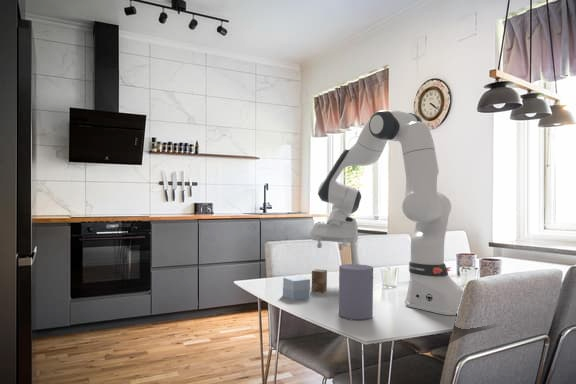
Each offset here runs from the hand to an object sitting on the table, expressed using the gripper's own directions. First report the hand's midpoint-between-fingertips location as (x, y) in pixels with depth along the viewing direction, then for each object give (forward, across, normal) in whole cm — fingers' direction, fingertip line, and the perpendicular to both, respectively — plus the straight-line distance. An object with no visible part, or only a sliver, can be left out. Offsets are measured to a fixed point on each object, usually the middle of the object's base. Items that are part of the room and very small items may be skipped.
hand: (329, 248), depth 176 cm
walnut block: (+20, 0, +2) cm, 20 cm away
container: (+38, +22, -17) cm, 48 cm away
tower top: (+27, -4, -9) cm, 29 cm away
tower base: (+29, -4, -7) cm, 30 cm away
